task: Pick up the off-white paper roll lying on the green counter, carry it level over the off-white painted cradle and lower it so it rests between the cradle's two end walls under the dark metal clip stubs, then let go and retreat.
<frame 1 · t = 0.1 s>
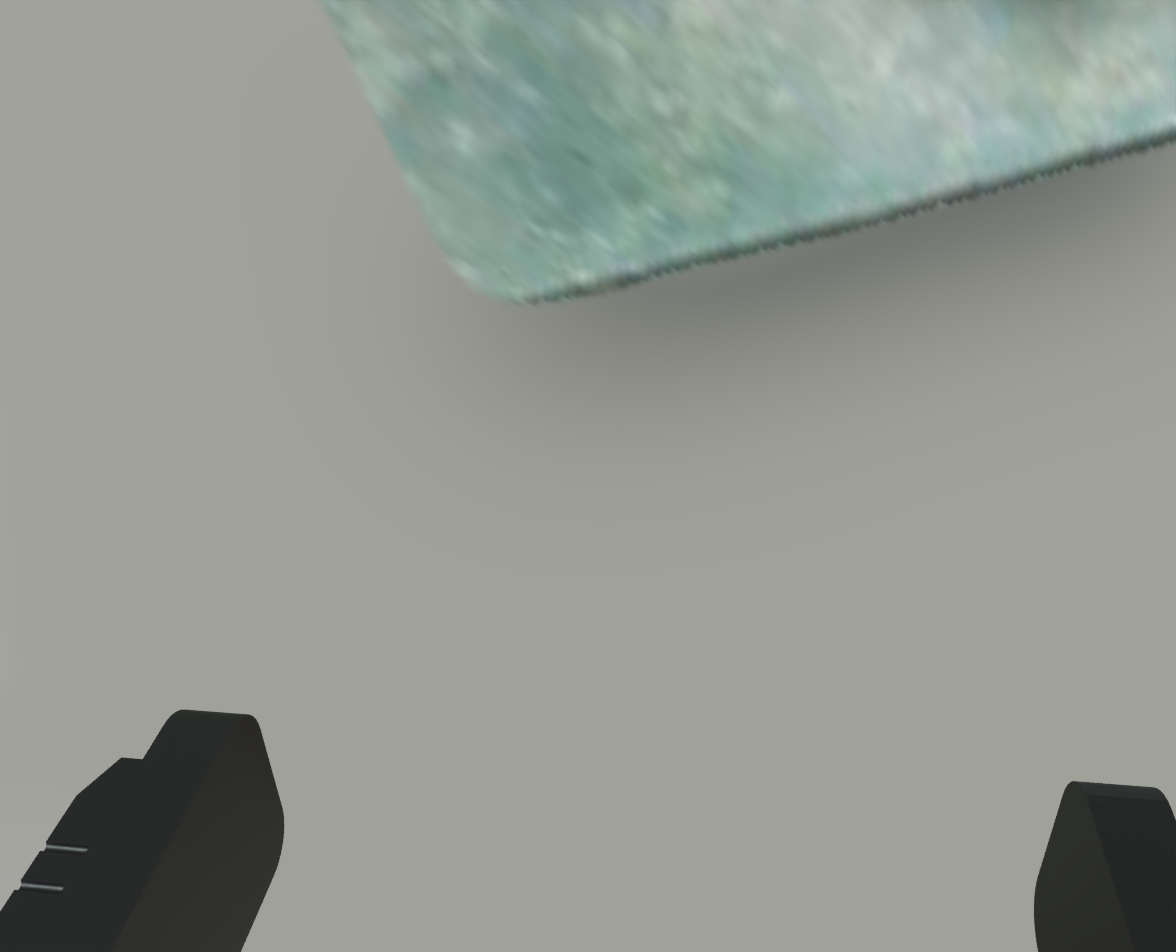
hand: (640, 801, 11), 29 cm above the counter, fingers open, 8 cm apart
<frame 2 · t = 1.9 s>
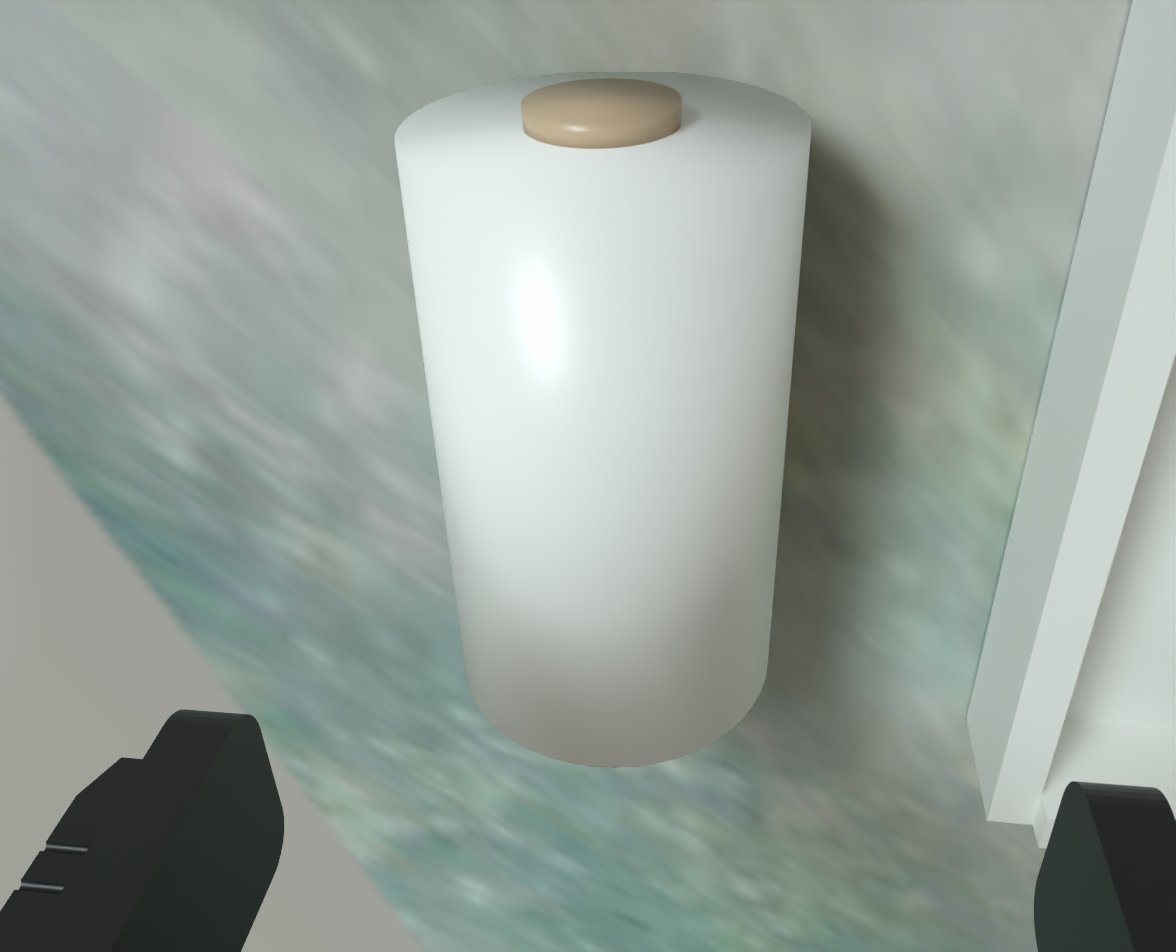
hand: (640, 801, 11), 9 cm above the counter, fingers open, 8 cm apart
paper roll: (690, 355, 18), on the counter, tilted 24°
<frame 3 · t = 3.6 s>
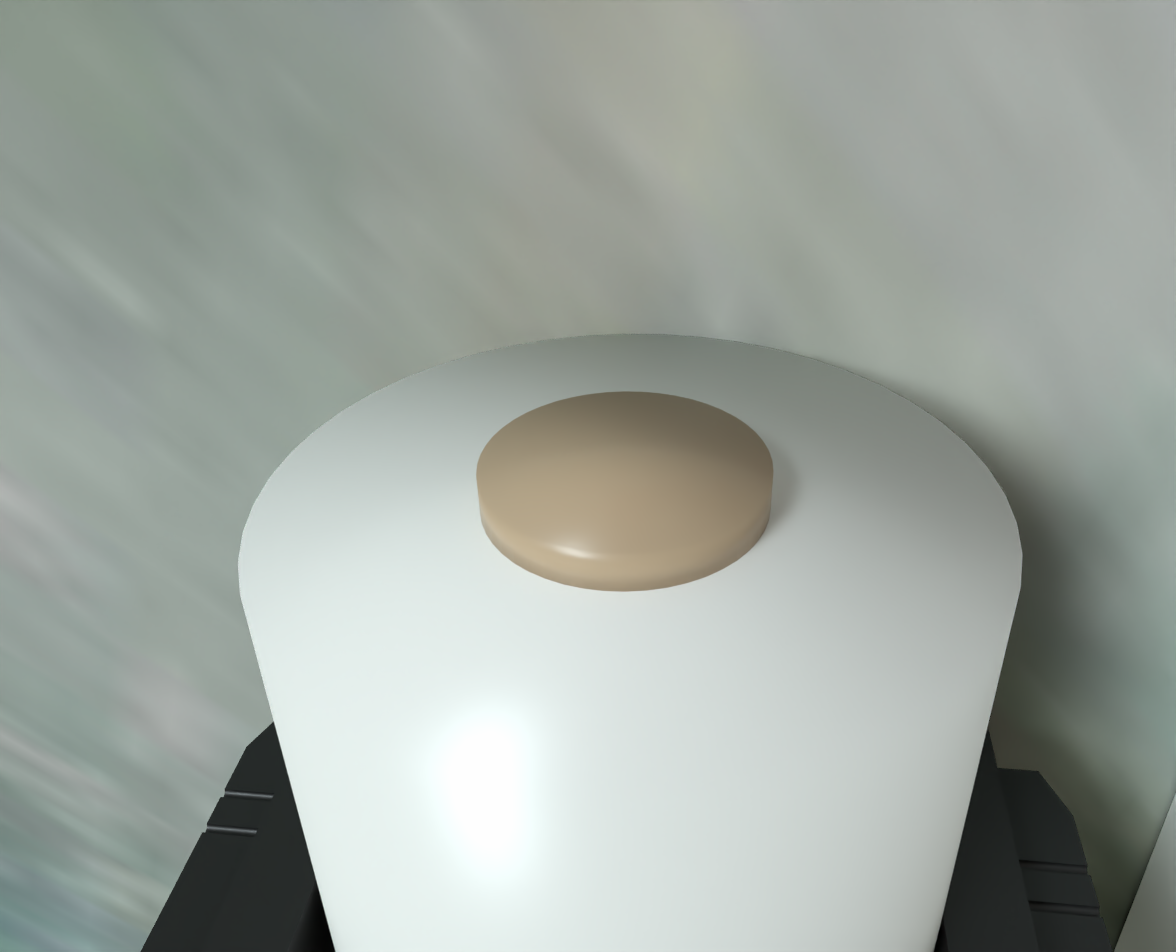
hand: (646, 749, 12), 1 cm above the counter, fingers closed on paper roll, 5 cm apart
paper roll: (659, 700, 12), on the counter, touching gripper
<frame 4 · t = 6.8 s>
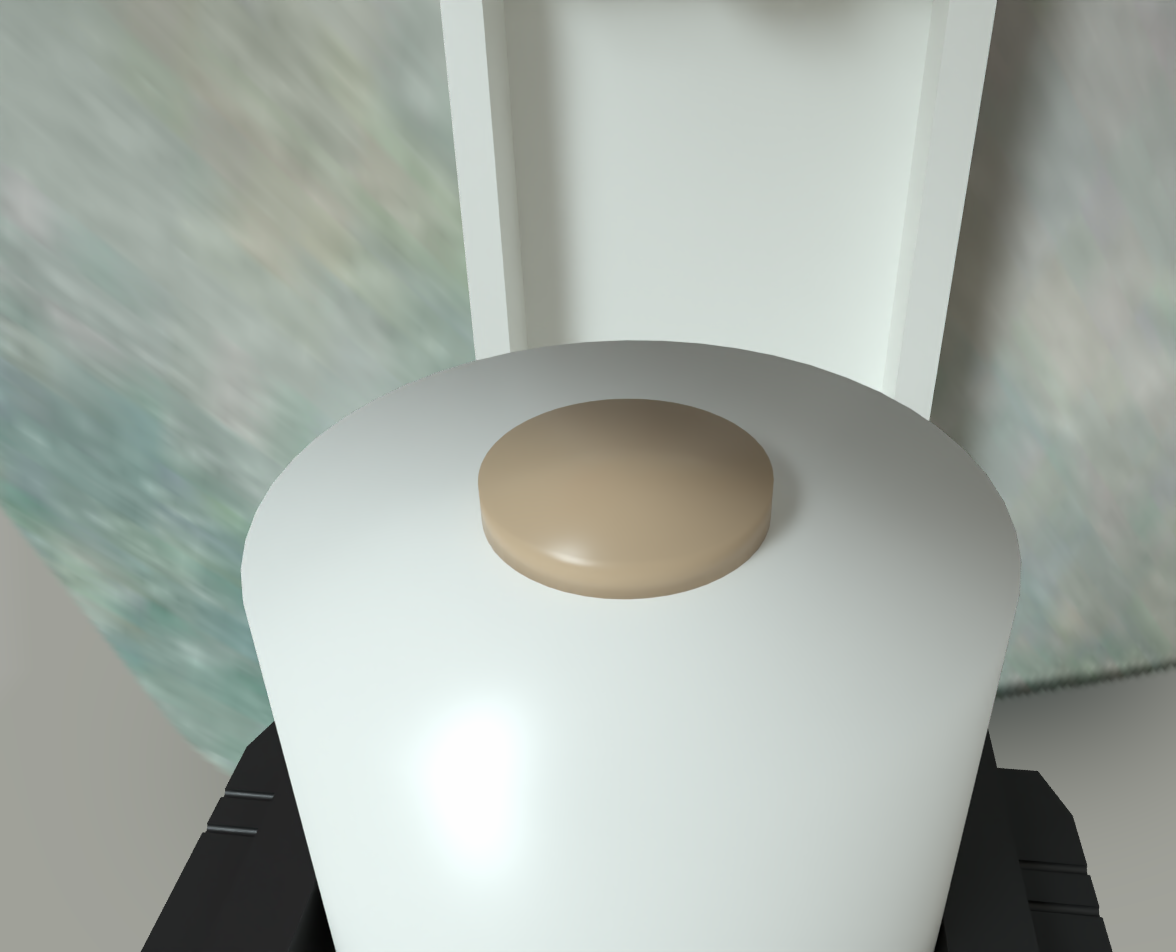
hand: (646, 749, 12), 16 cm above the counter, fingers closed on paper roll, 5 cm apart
paper roll: (659, 704, 12), point 15 cm above the counter, touching gripper
holder: (707, 221, 25), on the counter
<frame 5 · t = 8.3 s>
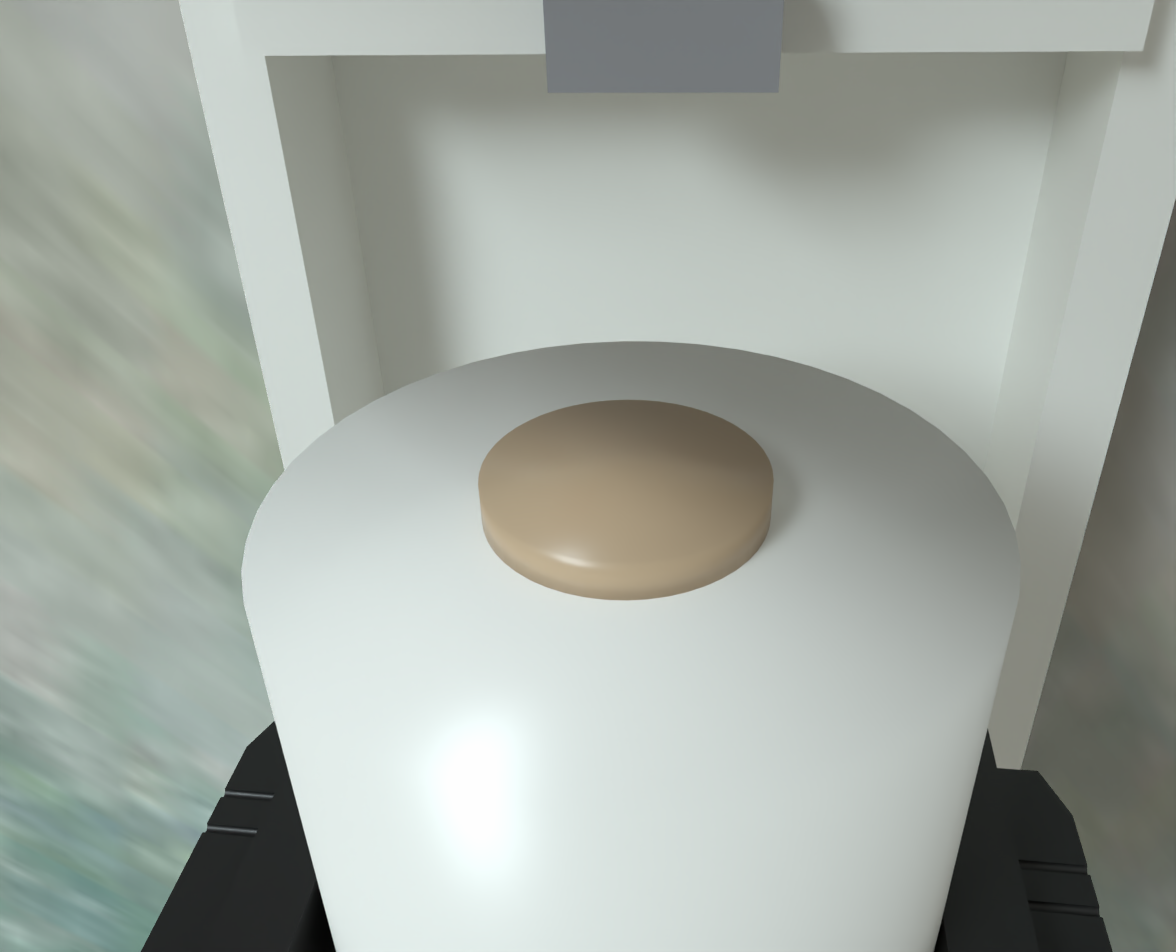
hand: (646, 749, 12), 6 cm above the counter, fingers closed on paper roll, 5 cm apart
paper roll: (659, 704, 12), point 5 cm above the counter, touching gripper
holder: (680, 450, 16), on the counter
when the fingers open (3 cm above the counter, at t = 9.8 s): paper roll drops 2 cm, resting on holder.
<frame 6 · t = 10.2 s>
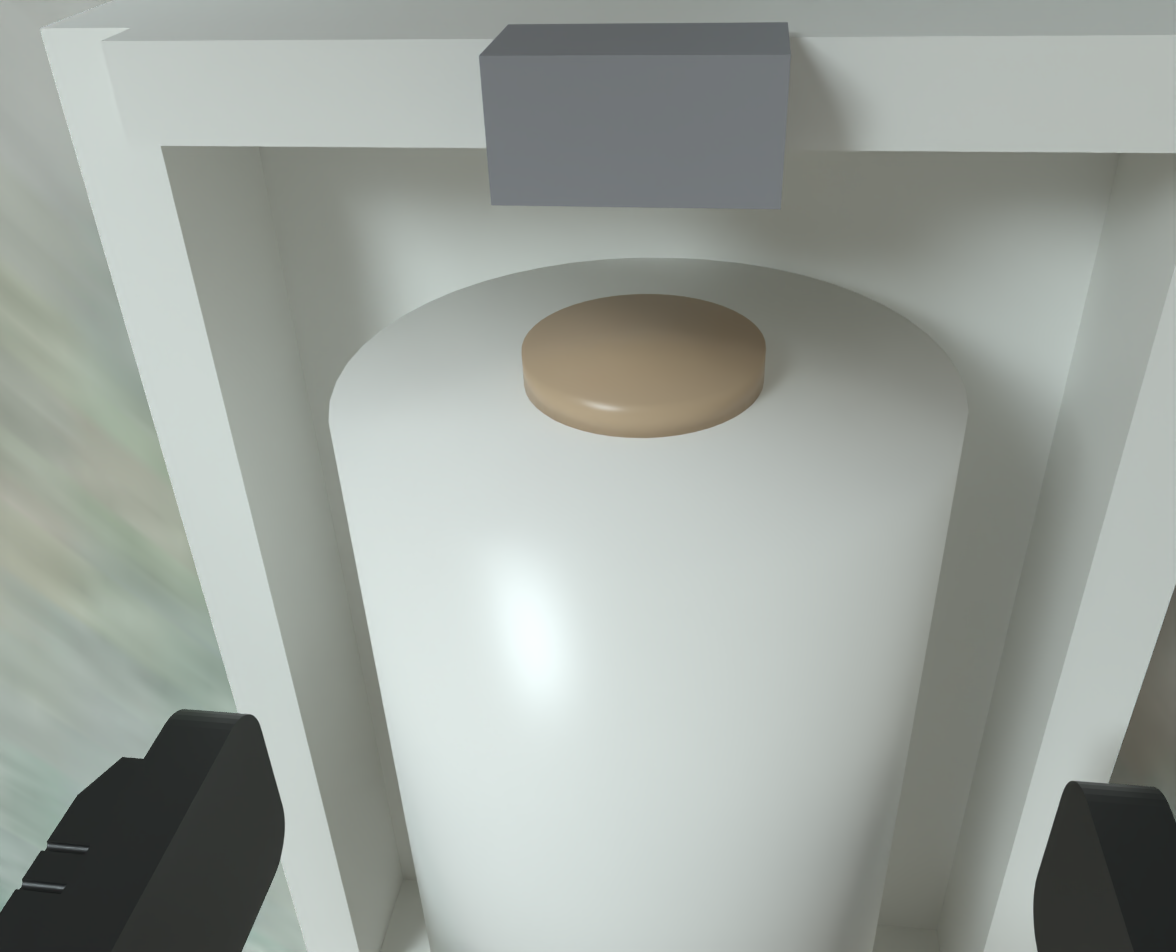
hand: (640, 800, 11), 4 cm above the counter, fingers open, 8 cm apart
paper roll: (670, 595, 14), point 1 cm above the counter, touching holder
holder: (667, 563, 14), on the counter
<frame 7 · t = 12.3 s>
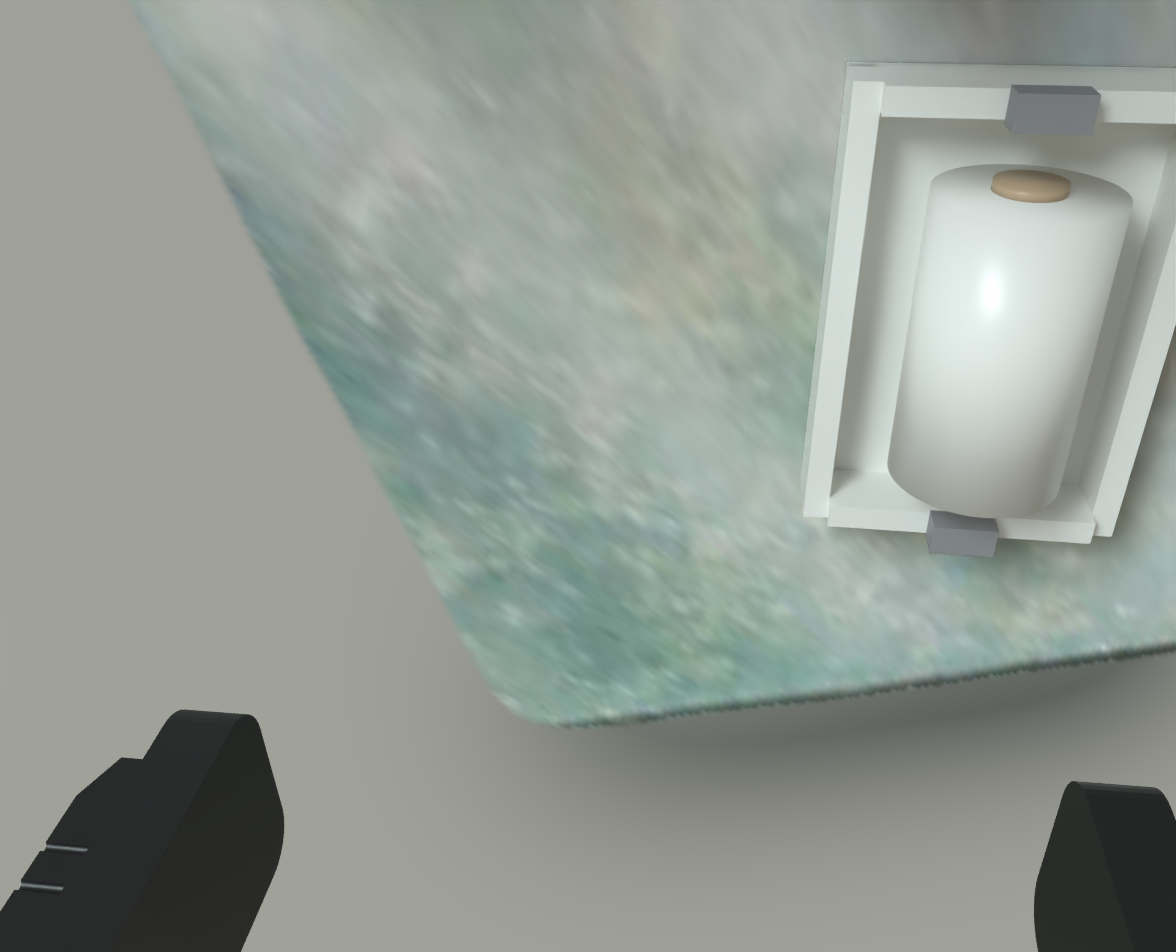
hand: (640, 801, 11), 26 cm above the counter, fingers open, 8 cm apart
paper roll: (986, 307, 34), point 1 cm above the counter, touching holder
holder: (981, 298, 35), on the counter
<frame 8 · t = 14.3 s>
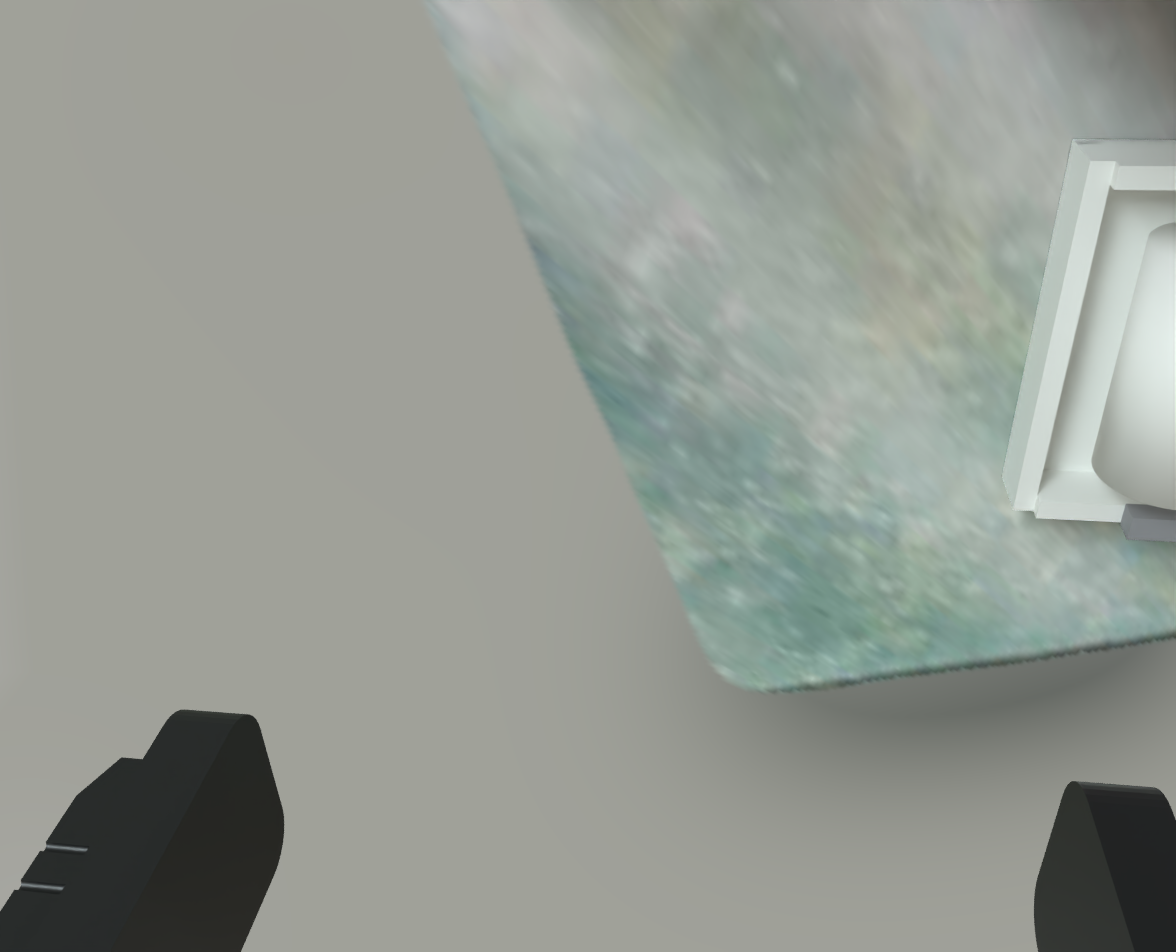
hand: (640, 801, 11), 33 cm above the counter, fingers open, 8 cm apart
holder: (1170, 326, 42), on the counter
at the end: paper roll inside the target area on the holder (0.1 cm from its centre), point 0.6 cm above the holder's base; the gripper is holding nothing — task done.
